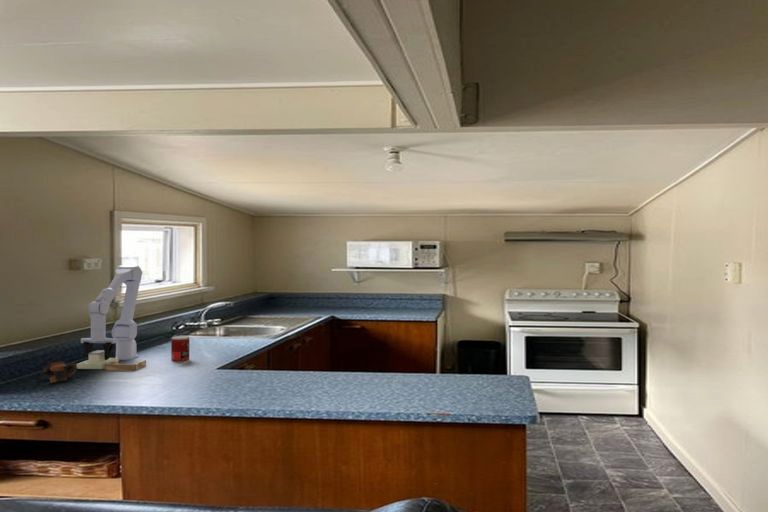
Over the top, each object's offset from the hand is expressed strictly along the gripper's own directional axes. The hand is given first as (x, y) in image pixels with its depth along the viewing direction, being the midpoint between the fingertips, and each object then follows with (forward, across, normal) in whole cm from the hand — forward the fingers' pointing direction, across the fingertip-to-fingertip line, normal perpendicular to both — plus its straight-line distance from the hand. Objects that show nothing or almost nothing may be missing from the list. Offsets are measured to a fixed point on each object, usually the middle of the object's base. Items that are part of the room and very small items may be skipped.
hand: (98, 359), depth 225 cm
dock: (+3, +14, -4) cm, 15 cm away
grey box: (+3, 0, 0) cm, 3 cm away
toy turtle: (+3, -1, -24) cm, 24 cm away
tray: (+3, 0, 0) cm, 3 cm away
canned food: (+3, +30, +14) cm, 34 cm away
